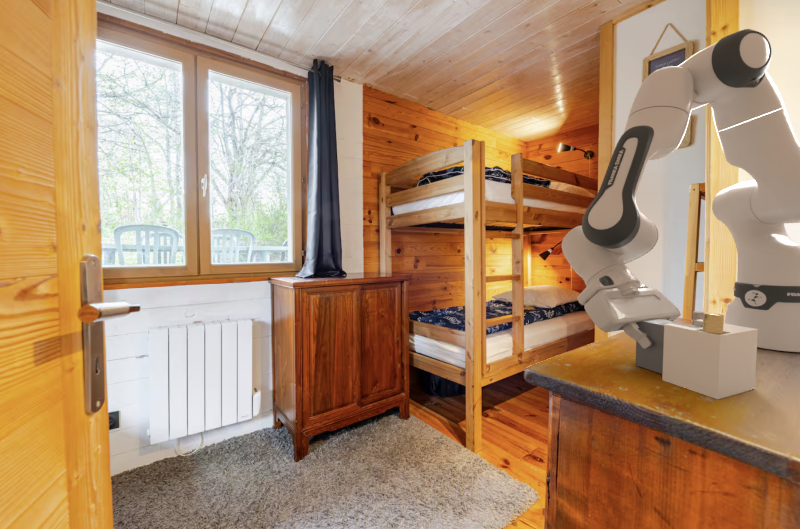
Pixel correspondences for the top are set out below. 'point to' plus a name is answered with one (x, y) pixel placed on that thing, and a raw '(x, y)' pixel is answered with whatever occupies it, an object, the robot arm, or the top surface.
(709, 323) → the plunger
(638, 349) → the cartridge
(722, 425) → the top surface
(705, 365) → the housing
